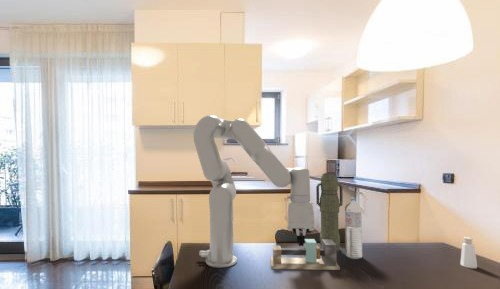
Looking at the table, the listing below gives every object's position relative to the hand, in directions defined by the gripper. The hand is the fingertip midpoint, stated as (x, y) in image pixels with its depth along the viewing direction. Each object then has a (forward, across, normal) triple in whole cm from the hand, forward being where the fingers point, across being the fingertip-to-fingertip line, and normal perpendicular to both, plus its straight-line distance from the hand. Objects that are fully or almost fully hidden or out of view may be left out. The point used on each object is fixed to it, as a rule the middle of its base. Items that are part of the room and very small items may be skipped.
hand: (300, 244), depth 108 cm
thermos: (+8, +16, +18) cm, 26 cm away
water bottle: (+8, +24, +10) cm, 27 cm away
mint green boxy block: (+6, +4, 0) cm, 7 cm away
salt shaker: (+8, +66, +2) cm, 67 cm away
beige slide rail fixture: (+8, +1, 0) cm, 8 cm away
